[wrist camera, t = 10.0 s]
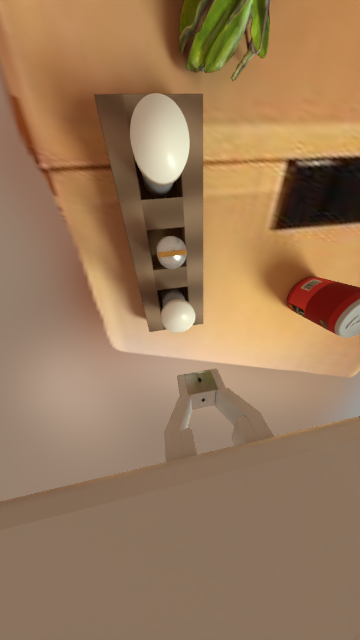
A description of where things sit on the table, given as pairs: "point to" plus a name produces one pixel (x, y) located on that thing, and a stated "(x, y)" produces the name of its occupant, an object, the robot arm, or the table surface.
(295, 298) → the canned food
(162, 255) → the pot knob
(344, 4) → the table surface
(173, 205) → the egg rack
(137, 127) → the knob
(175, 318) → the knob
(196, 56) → the passion flower
